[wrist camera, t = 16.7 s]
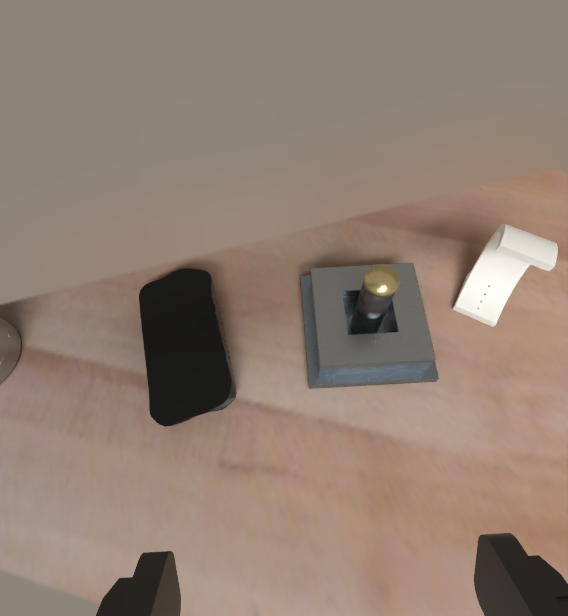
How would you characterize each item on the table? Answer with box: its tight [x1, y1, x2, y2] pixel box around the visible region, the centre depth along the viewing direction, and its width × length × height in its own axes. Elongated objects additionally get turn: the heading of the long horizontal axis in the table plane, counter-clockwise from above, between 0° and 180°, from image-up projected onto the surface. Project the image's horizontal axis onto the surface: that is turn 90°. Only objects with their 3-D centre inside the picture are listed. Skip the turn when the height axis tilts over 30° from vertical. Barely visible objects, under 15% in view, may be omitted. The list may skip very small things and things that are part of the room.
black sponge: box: [139, 269, 236, 426], centre depth 43 cm, size 16×8×4 cm, turn 14°
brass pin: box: [351, 264, 400, 334], centre depth 40 cm, size 3×3×10 cm
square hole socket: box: [301, 263, 439, 389], centre depth 44 cm, size 13×13×4 cm
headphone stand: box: [453, 224, 558, 327], centre depth 41 cm, size 5×6×12 cm
